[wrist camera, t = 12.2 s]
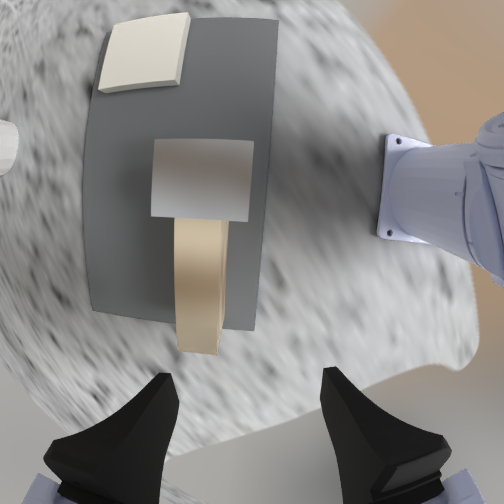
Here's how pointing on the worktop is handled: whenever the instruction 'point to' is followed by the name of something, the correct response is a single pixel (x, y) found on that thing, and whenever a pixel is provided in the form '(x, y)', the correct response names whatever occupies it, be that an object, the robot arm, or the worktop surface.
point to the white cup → (7, 145)
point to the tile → (145, 53)
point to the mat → (141, 166)
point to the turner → (201, 226)
